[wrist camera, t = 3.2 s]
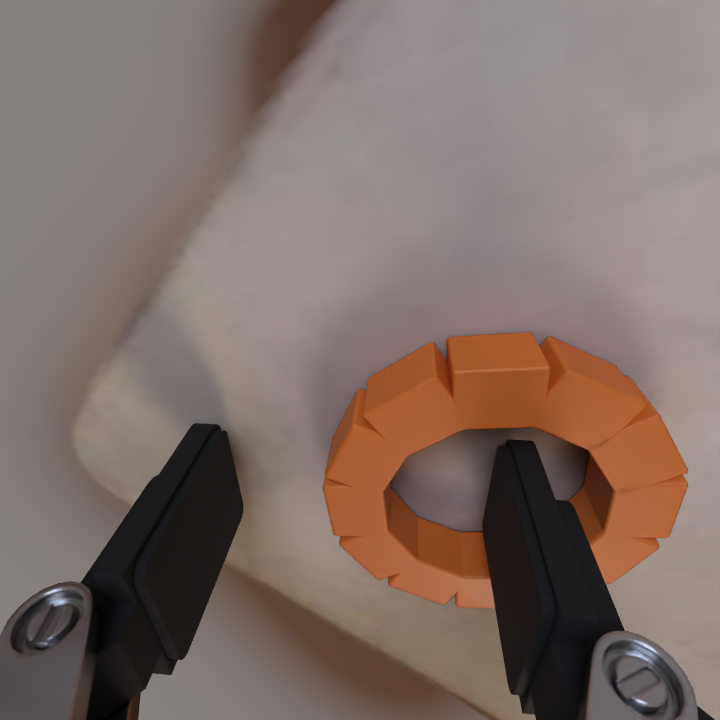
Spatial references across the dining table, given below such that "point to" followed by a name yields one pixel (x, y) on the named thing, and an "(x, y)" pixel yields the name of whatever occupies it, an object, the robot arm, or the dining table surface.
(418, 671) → the dining table surface
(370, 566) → the ring
